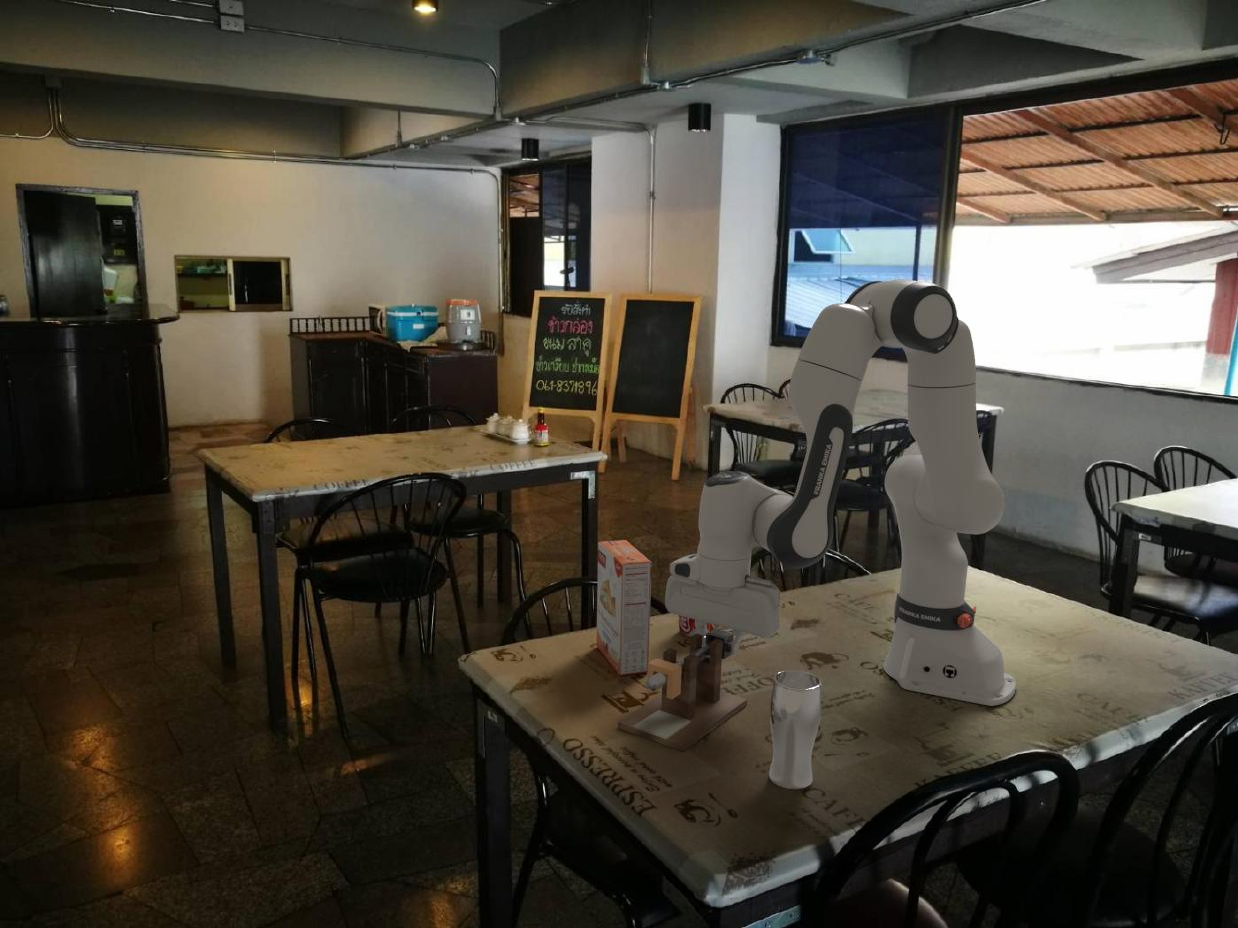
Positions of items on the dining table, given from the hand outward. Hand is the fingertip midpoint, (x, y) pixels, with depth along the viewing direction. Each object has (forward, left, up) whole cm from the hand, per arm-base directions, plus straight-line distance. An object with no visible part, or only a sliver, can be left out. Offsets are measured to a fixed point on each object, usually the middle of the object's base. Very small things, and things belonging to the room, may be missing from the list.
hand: (719, 648), depth 160 cm
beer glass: (-22, +18, -8) cm, 29 cm away
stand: (0, +11, -8) cm, 13 cm away
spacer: (0, +17, -2) cm, 17 cm away
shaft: (0, +9, -1) cm, 10 cm away
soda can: (+17, -21, -8) cm, 29 cm away
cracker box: (+21, -1, -8) cm, 23 cm away
